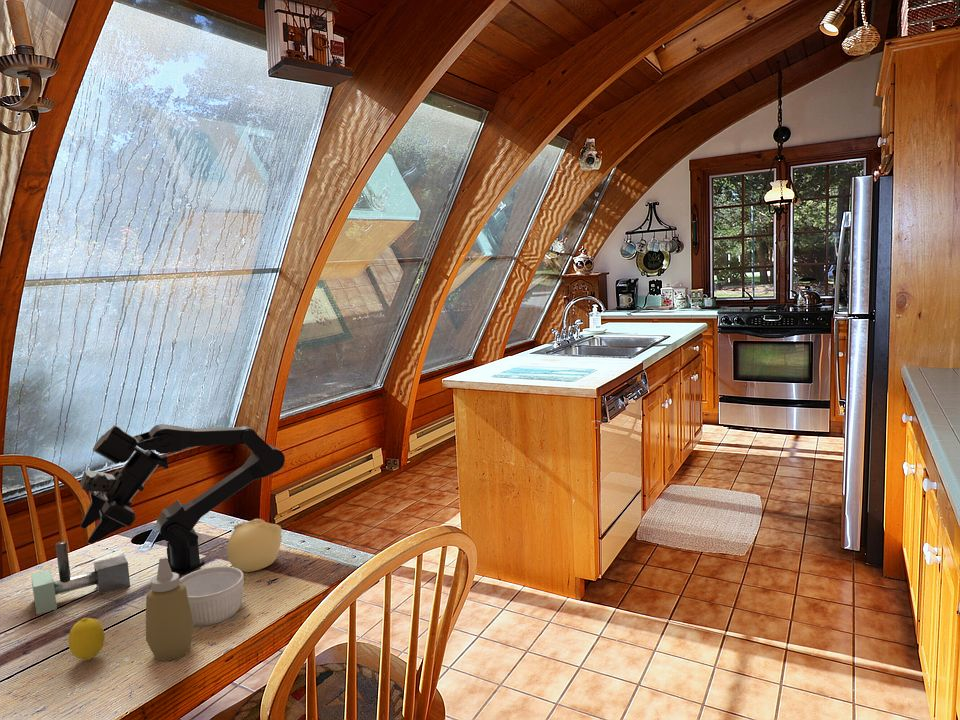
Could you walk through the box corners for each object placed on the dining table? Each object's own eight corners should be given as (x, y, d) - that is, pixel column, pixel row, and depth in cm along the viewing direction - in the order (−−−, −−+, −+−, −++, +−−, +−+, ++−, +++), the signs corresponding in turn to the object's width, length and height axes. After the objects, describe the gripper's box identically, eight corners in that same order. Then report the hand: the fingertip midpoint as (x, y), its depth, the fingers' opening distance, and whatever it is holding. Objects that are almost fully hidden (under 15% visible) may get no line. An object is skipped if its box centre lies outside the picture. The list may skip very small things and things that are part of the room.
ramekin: (214, 634, 127) (211, 600, 126) (160, 624, 132) (157, 590, 131) (259, 601, 140) (257, 570, 139) (209, 592, 144) (206, 562, 143)
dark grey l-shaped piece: (102, 579, 148) (97, 532, 147) (104, 584, 146) (99, 536, 144) (38, 596, 141) (32, 547, 140) (39, 601, 139) (33, 551, 137)
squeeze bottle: (148, 670, 116) (138, 572, 114) (147, 647, 123) (137, 555, 121) (198, 656, 120) (189, 561, 117) (194, 635, 127) (185, 545, 124)
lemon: (80, 652, 122) (76, 611, 121) (112, 649, 123) (107, 609, 122) (64, 670, 117) (59, 627, 116) (97, 667, 117) (92, 625, 116)
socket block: (53, 594, 145) (50, 568, 144) (57, 609, 139) (53, 582, 138) (34, 600, 143) (30, 573, 142) (36, 614, 137) (33, 587, 136)
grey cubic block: (126, 578, 152) (123, 555, 151) (130, 585, 148) (127, 562, 147) (96, 586, 148) (93, 562, 148) (99, 594, 145) (96, 570, 144)
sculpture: (289, 555, 162) (286, 513, 160) (265, 578, 150) (262, 532, 149) (246, 553, 164) (242, 511, 162) (219, 575, 152) (215, 530, 151)
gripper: (94, 445, 152) (45, 504, 148) (110, 469, 137) (56, 535, 133) (136, 469, 158) (91, 525, 154) (156, 494, 144) (106, 557, 140)
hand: (85, 535), depth 145 cm, fingers open, 9 cm apart
